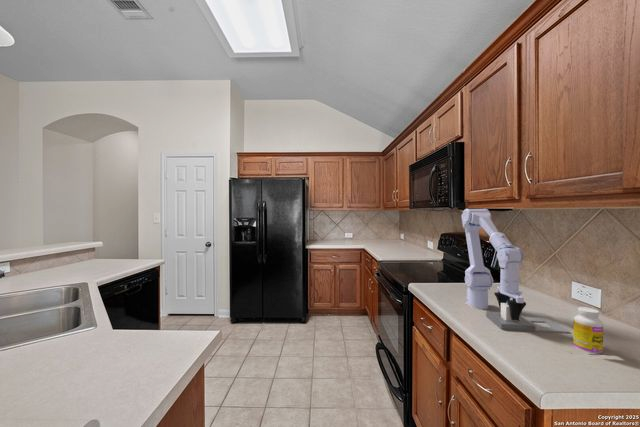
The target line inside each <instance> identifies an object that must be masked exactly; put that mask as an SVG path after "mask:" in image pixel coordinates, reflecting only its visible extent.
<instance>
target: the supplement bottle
mask: <svg viewBox="0 0 640 427" xmlns="http://www.w3.org/2000/svg"><path fill="white" fill-rule="evenodd" d="M577 312H578V314H576V315H575V316H573V327H572V328H573V332H572V333H573V334H572V335H573V337H572V345H573V346H574V347H575V348H577V349H579V350H580V351H584V352H588V353H589V355H590V356H601V355H602V354H601V353H604V322H603V321H602V320H601V319H600V318H599V316H600V311H599V310H597V309H595V308H591V307H586V306H585V307H584V306H579V307H578V308H577Z"/></svg>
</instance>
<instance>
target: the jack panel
mask: <svg viewBox="0 0 640 427" xmlns="http://www.w3.org/2000/svg"><path fill="white" fill-rule="evenodd" d="M485 317H486V318H487V319H488V320H489V321H491V322H492V324H494V325H495V326H497V328H499V329H500V330H501V331H502V330H503V331H518V332H519V331H520V332H521V331H522V332H536V333H537V332H538V333H556V334H571V331H570V330H568V329H566V328H565V327H563V326H561V325H559V324H557V323H556V322H554V321H552V320H551V319H549V318H547V317H530V316H527V317H526V316H522V315H520V317H519V320H518V321H505V320H504V319H503V318H501V311H488V310H487V311H485ZM535 323H541V324H542V323H544V324H546V325H547V326H540V325H539V326H538V325H537V324H535Z"/></svg>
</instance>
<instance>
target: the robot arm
mask: <svg viewBox="0 0 640 427" xmlns="http://www.w3.org/2000/svg"><path fill="white" fill-rule="evenodd" d="M491 218H492V214H491V213H490V210H489V209H487V208H465V209H464V210H463V211H462V214H461V222H462V228H463V229H464V231H465V237H466V238H465V240H466V245H467V251H468V259H469V265H470V266H469V267H468V268H466V269H465V271H464V274H465V276H464V282H465V285H466V286H467V289H466V302H464V304H465V305H469V307H471V308H474V309H477V310H487V309H488V308H489V290H491V287H493V284H494V278H493V276H492V274H491V270H490V269H489V268H488V267H486V266H485V264H484V258H483V252H482V246H481V240H480V234H479V230H480V229H483V230H484V231H485V233H487V235H488V236H489V240H488V241H489V243H490V244H491V245H492V247H493V248H494V250H495V251H496V252H497V253H496V258H497V261H498V265H499V266H498V267H499V268H500V276H499V277H500V279H499V280H500V282H499V284H500V285H497V286H496V292H493V294H494V296H495V298H496V300H497V303H498V307H499V310H500V311H499V312H501V303H506V302H507V303H508V305H509V308H510V316H511V319H512V320H519V317H520V316H521V314H522V311H523V309H524V308H525V307H526V306H527V303H526V302H525V300H524V297H523V296H522V294H523V292H522V291H520V263H522V262H523V260H524V252H523V250H522V249H521V248H520V247H518V246H516V245H513V244H512V243H511V241H510V240H509V239H508V237H507V236H506V235H505V233H504V232H499V230H498V228H497V227H496V225H495V224H494V222H493V220H492V219H491Z"/></svg>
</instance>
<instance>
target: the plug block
mask: <svg viewBox="0 0 640 427" xmlns="http://www.w3.org/2000/svg"><path fill="white" fill-rule="evenodd" d="M500 312H501V318H503V319H504V320H505V321H518V320H512V319H511V316H510V308H509V305H508V303H507V302H506V303H501V311H500Z"/></svg>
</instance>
